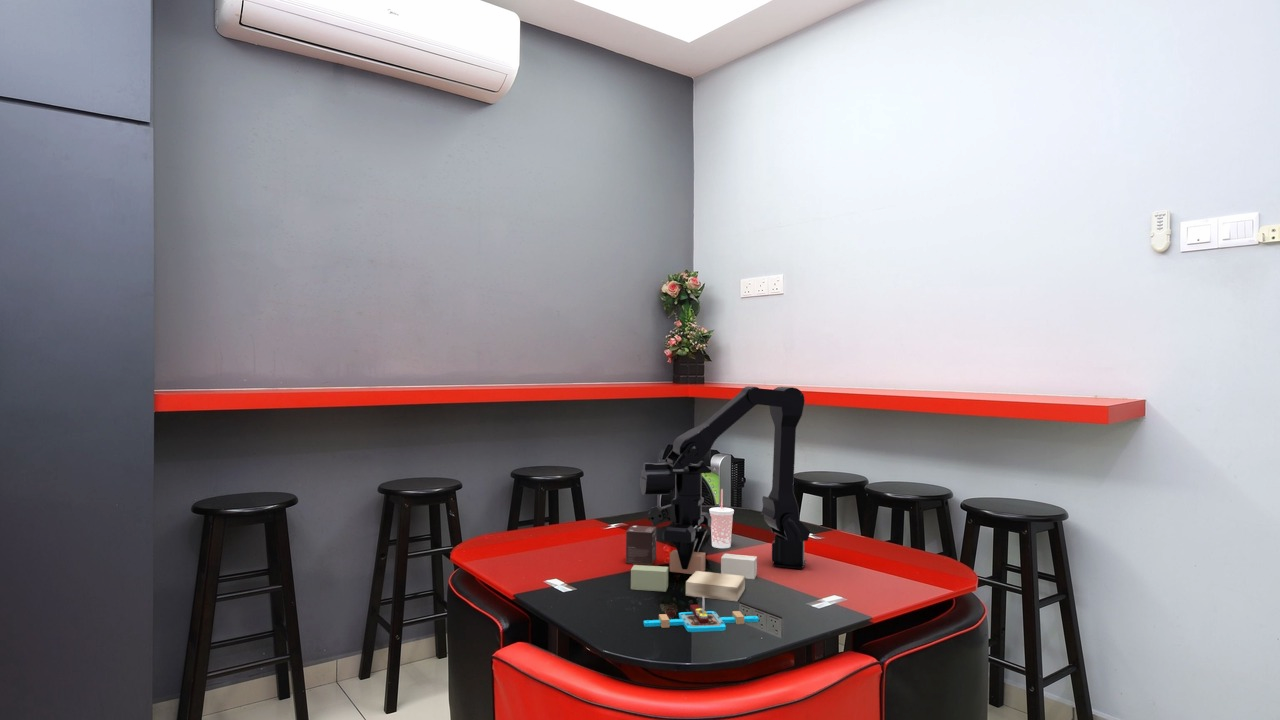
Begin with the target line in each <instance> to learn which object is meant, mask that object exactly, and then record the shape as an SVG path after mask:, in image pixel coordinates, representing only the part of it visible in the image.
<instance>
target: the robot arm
mask: <svg viewBox="0 0 1280 720" xmlns="http://www.w3.org/2000/svg"><path fill="white" fill-rule="evenodd" d="M805 399H806V398H805V395H804V393H803V392H802V391H801V390H800V389H799V388H797V387H793V386H792V387H790V386H777V387H774V389H769V388H760V387H758V386H750V385H749V386H745V387H743V388H742V389H741V391H740V392H739V393H738V394H736V395H734V397H733V398H732V399H730V400H729V401H728V402H727V403H725V404H724V405H723V406H722V407H721V408H720V409H718V411H716V412H714V414H713V415H712V416H710V417H709V418H708V419H706V421H705V422H703V423H701V424H700V425H697V426H695V427H693V428H691V429H689V430H687V431H686V432H684V433H682V434H681V435H678V436H677V437H676V438H675V439H674V441H673V443H672V444H673V445H672V449H671V450H670V452H669V453H668V455H667V456H666V457H665V459H664V460H663V462H661V463H657V462H656V463H653V462H643V463H642V469H641V473H640V476H639V488H640V493H641V495H642V496H660V495H666V496H667V495H670V493H671V492H673V491H675V493H674V498H672V499H671V501H670V504H667V505H664V506H660V505H656V506H653V507H651V508H649V509H650V510H649V512H648V513H647V515H648V518H647V520H648V522H651V526H652V527H658V526H659V525H661V524H663V523H664V524H665V523H667V522H669V523H670V524H669V525H667V526H666V527H665V528H664V529H663V530H662V533H661V539H662V541H663V542H664V541H665V542H671V543H672V544H673V545H674V547H676V549H675V550H677V552H678V555H679V559H680V563H681V567H682V569H687V568H688V566H689V563H690V560H691V557H692V554H693V552H699V551H700V548H701V546H702V543H703V541H704V539H705V536H706V535H707V533H708V529H707V528H711V516H710V513H708V512H705V511H702V504H703V503H704V501H705V498H704V497H703V496H702V493H703V492H702V486H703V485H702V483H703V481H702V480H703V478H702V476H703V474H710V473H712V469H710V468H709V467H708V466H707V465H706V463H705V462H704V461H703V459H704V458H705V457H706V455H707V454H708V453H709V452H710V450H711V449H712V448H713V446H714V444H715V441H717V439H718V438H719V437H720V436H722V434H724V433H725V432H726V431H727V430H729V429H730V428H731V427H732V426H733V425H734V424H735V423H737V422H738V421H739V420H741V418H742V417H744V416H745V415H746V414H747V413H749V412H750V411H751V410H752V408H754V407H755V406H757V405H761V406H767V407H768V406H769V412H770V413H769V414H770V417H771V419H772V422H773V425H774V436H773V438H774V439H773V458H772V459H773V460H772V462H773V463H772V481H771V483H772V484H771V485H772V486H771V491H770V493H769V494H768V496H764V495H762V509H761V512H760V514H761V515H763V520H764V522H765V524H767V525H768V526H769V527H770V530H771V533H772V534H775V536H774V540H773V541H772V543H771V561H772V566H773V567H776V568H777V567H778V568H788V569H796V570H797V569H798V570H802V569H803V568H804V567H805V564H806V559H805V542H807V541H808V539H809V536H810V533H811V531H810V530H809V529H808V528H807V526H805V525H804V523H803V522H801V520H800V519H801V518H800V512H799V511H800V510H799V509H800V508H799V504H798V501H797V499H796V496H795V493H794V484H795V483H794V482H795V481H794V480H795V460H796V459H795V457H796V437H797V435H796V434H797V432H796V431H797V427H798V424H799V423H800V420H801V419H802V416H803V414H804V413H803V412H804V407H805V403H806V400H805ZM702 525H705V528H702Z"/></svg>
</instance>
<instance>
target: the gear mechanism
mask: <svg viewBox="0 0 1280 720" xmlns="http://www.w3.org/2000/svg"><path fill="white" fill-rule="evenodd" d="M701 598H702V602H701V605H702V607H701V606H700V604H690V605H689V609H690V611H687V612H686V611H684V612H678V618H675V619H674V618H673V619H672V618H671V619H670V618H669V616H668V615H667V613H662V614H660V613H659V614H658V619H652V620H650V619H647V620H643V626H644V628H645V627H651V628H652V627H661V628H662V629H663V628H665V629H666V628H668V629H669V628H670V626H683V627H684V628H685V630H686V631H687V632H688V633H700V632H702V633H703V632H721V631H722V632H723V631H724V632H725V631H726V630H727V629H726V627H727V626H726V624H736V625H745V623H758V622H760V618H759V617H758V616H757V615H749V616H748V615H747V616H745V615H744V614H742V612H741V611H740V610H734V611H731V615H732V616H723V617H722V616H721V617H720V615H718V613H717V612H716V611H713V610H711V611H709V610H707V611H706V608H705V607H706V606H705V604H706V603H705V600H706V598H705V597H701Z"/></svg>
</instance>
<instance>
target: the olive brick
mask: <svg viewBox="0 0 1280 720" xmlns="http://www.w3.org/2000/svg"><path fill="white" fill-rule="evenodd" d="M668 587H669V566H659V565H644V564H633V566H632V567H631V569H630V590H636V591H648V592H649V591H650V592H651V591H654V592H665V593H666V592H667V590H668Z"/></svg>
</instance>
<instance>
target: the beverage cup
mask: <svg viewBox="0 0 1280 720" xmlns="http://www.w3.org/2000/svg"><path fill="white" fill-rule="evenodd" d="M723 490H724V489H723V488H721V489H720V506H717V507H711V508H709V509H708V510H709V513H708V514H709V515H710V516H711V526H710V532H711V533H710V534H711V535H710V536H711V546H712V547H713V548H715V549H716V548H717V549H729V548H731V545H732V529H733V518H734V517H733V516H734V512H735V510H734V509H733V508H731V507H725V506H724V507H723V505H724V504H723V503H724V502H723V501H724V499H723V498H724V491H723Z"/></svg>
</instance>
